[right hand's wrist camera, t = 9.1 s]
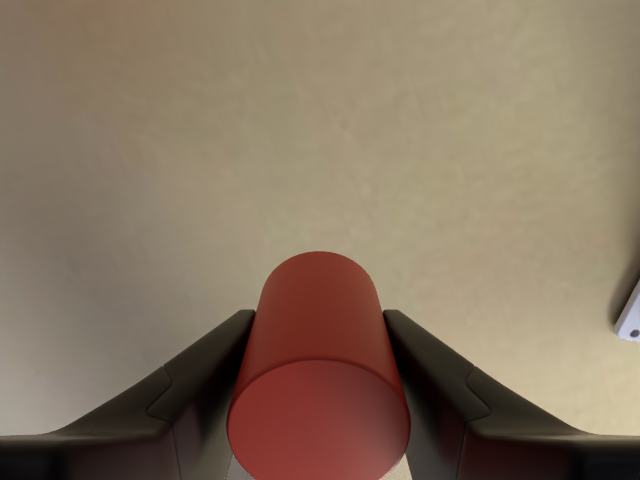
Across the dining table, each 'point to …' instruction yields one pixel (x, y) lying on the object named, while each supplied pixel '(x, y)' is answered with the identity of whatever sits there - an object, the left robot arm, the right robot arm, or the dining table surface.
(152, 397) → the right robot arm
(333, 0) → the dining table surface
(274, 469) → the can
